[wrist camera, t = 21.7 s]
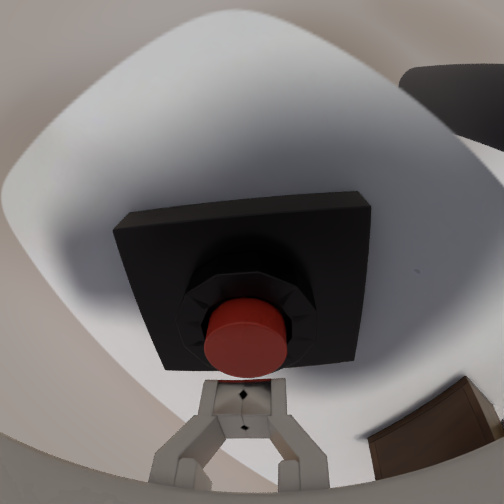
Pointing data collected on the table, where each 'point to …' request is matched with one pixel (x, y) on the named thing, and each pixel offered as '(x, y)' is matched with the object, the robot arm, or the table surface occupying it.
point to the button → (246, 338)
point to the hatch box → (436, 432)
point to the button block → (251, 271)
